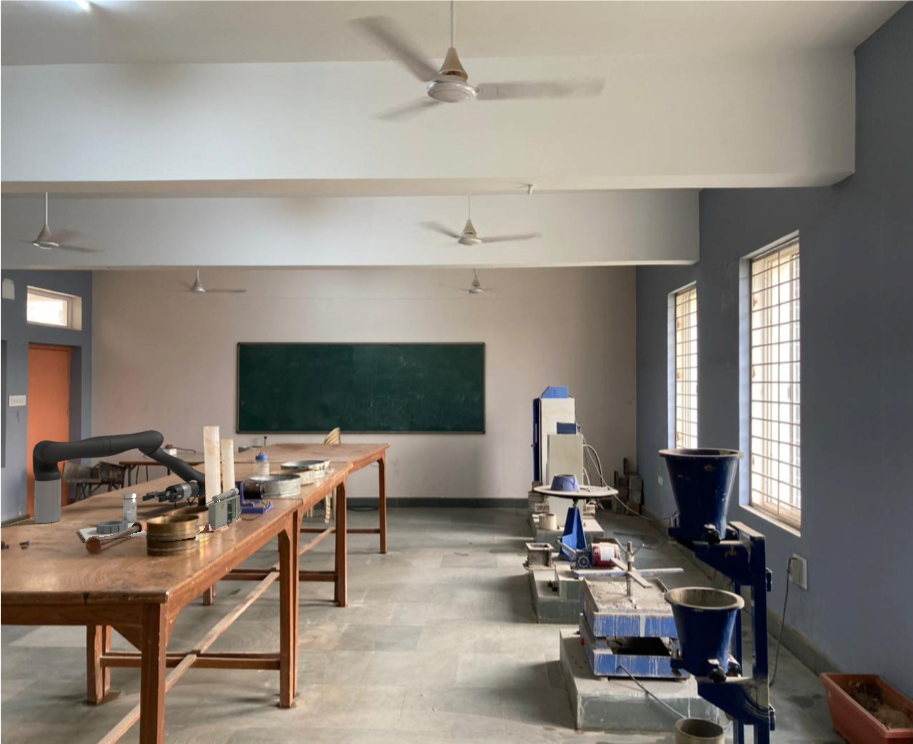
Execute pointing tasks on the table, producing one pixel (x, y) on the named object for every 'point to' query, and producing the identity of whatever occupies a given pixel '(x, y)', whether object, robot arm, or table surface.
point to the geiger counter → (224, 509)
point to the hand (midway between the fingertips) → (151, 499)
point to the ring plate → (93, 532)
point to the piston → (130, 507)
